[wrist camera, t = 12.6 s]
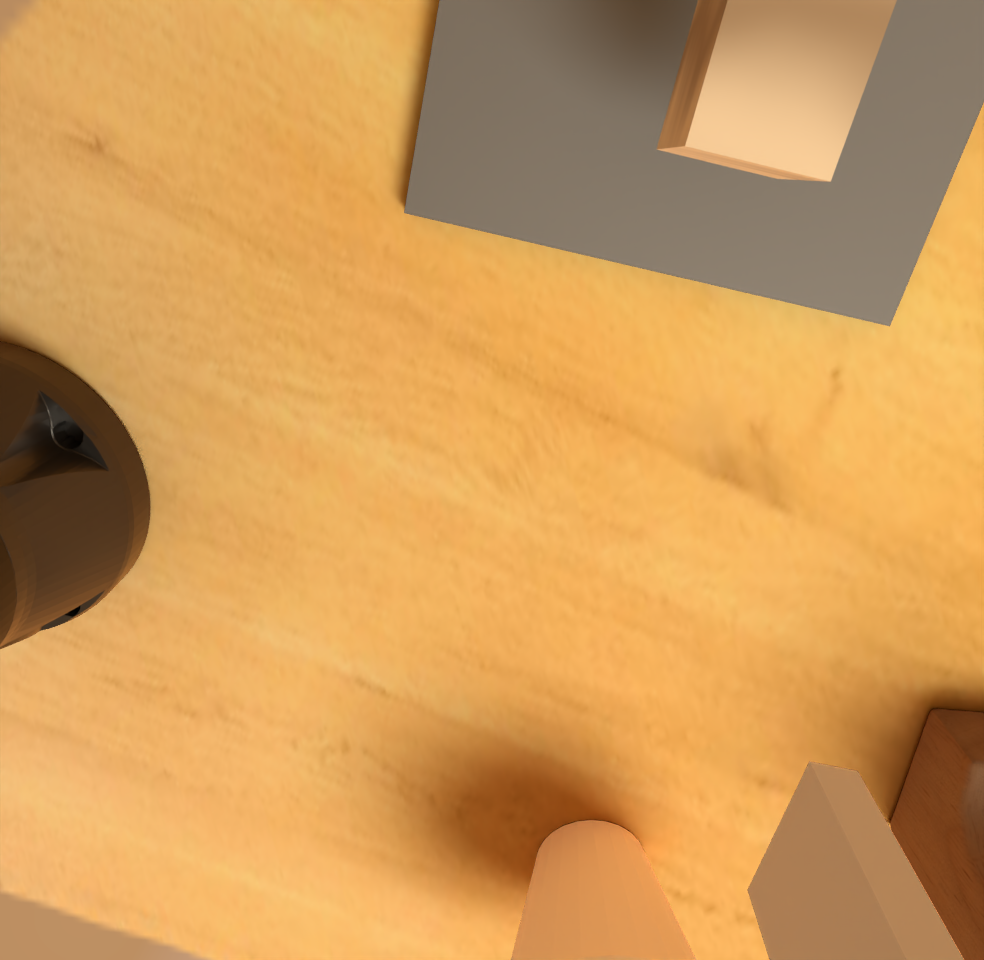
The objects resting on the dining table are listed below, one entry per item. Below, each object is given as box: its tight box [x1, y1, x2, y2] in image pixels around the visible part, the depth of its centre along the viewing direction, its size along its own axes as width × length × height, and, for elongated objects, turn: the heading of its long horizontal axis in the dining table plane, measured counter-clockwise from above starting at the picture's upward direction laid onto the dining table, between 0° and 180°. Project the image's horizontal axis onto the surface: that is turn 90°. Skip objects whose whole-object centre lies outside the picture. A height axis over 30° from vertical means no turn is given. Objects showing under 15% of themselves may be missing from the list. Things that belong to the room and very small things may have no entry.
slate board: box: [404, 0, 984, 326], centre depth 31 cm, size 22×19×1 cm
